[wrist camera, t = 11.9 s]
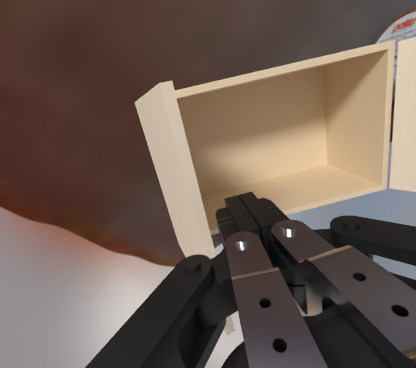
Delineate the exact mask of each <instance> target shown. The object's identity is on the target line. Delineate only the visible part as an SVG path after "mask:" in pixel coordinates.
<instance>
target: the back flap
mask: <svg viewBox="0 0 416 368" xmlns="http://www.w3.org/2000/svg"><path fill="white" fill-rule="evenodd" d="M389 188H390V189H397V190H404V191H411V192H416V37H412V38H409V39H405V40H401V41H398V56H397V73H396V89H395V105H394V121H393V137H392V154H391V171H390V187H389Z"/></svg>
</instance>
